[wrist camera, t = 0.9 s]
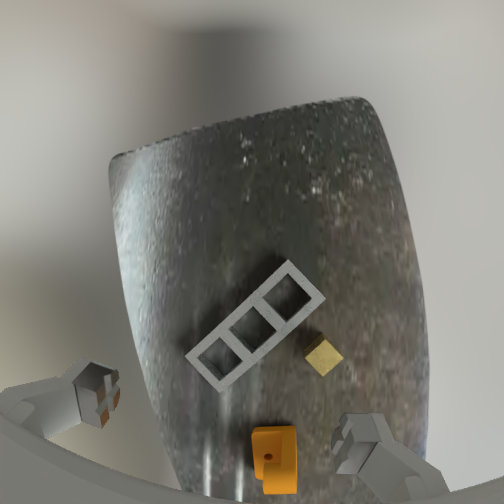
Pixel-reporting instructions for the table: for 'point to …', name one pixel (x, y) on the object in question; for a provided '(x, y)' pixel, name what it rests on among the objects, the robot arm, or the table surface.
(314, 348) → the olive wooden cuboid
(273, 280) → the grey rectangular frame
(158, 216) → the table surface
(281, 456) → the bracket
